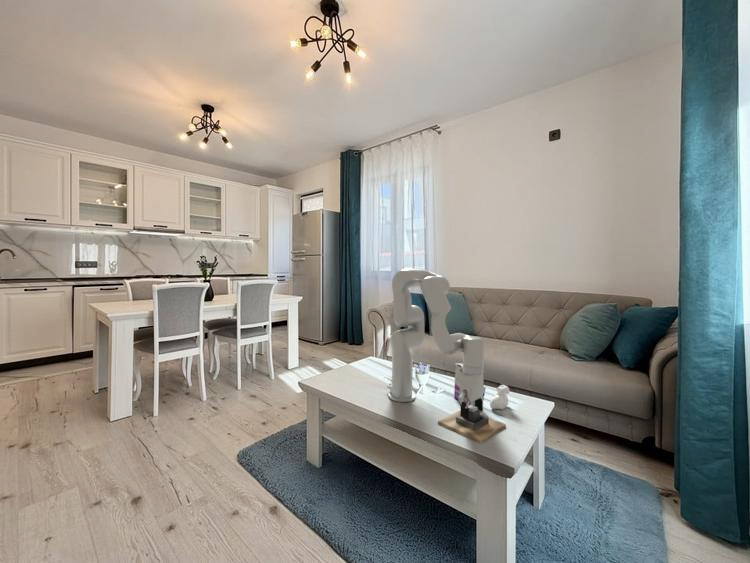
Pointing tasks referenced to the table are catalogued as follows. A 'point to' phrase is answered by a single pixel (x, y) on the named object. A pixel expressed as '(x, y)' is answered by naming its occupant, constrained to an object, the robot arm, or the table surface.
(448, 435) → the table surface
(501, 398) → the bust
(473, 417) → the connector plug
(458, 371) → the candy bar box
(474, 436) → the end holder
